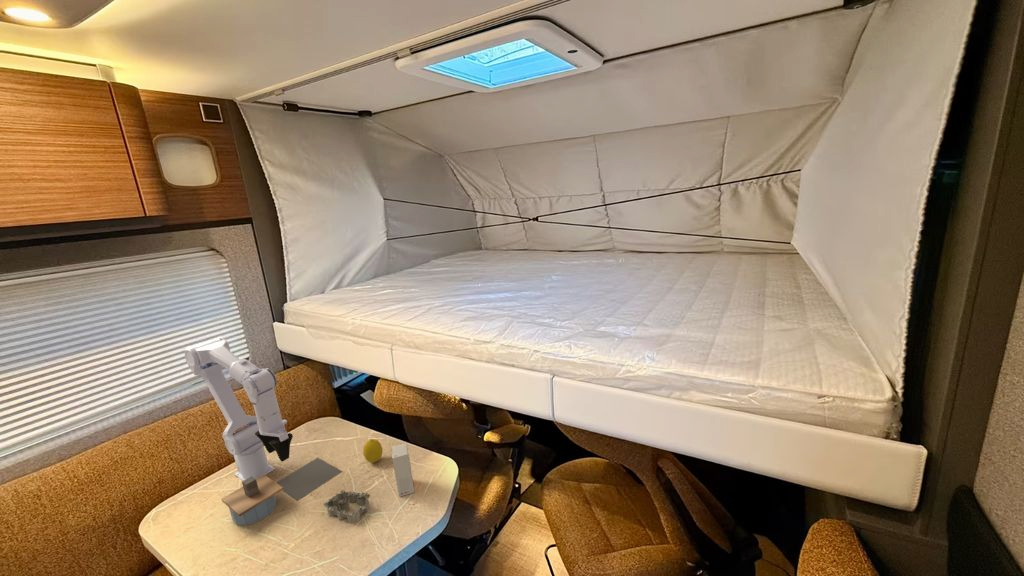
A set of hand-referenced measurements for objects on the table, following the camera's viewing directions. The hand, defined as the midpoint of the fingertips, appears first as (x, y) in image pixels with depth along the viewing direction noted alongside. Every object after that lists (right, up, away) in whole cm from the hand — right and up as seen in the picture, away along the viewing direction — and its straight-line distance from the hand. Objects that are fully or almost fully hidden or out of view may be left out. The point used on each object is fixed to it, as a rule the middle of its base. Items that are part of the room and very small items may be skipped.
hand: (278, 455), depth 120 cm
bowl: (-2, -13, -7) cm, 15 cm away
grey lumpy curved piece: (+24, -11, -10) cm, 28 cm away
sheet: (-3, -8, -8) cm, 11 cm away
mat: (+6, -9, +5) cm, 12 cm away
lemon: (+25, -6, +10) cm, 27 cm away
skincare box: (+37, -8, -3) cm, 38 cm away
